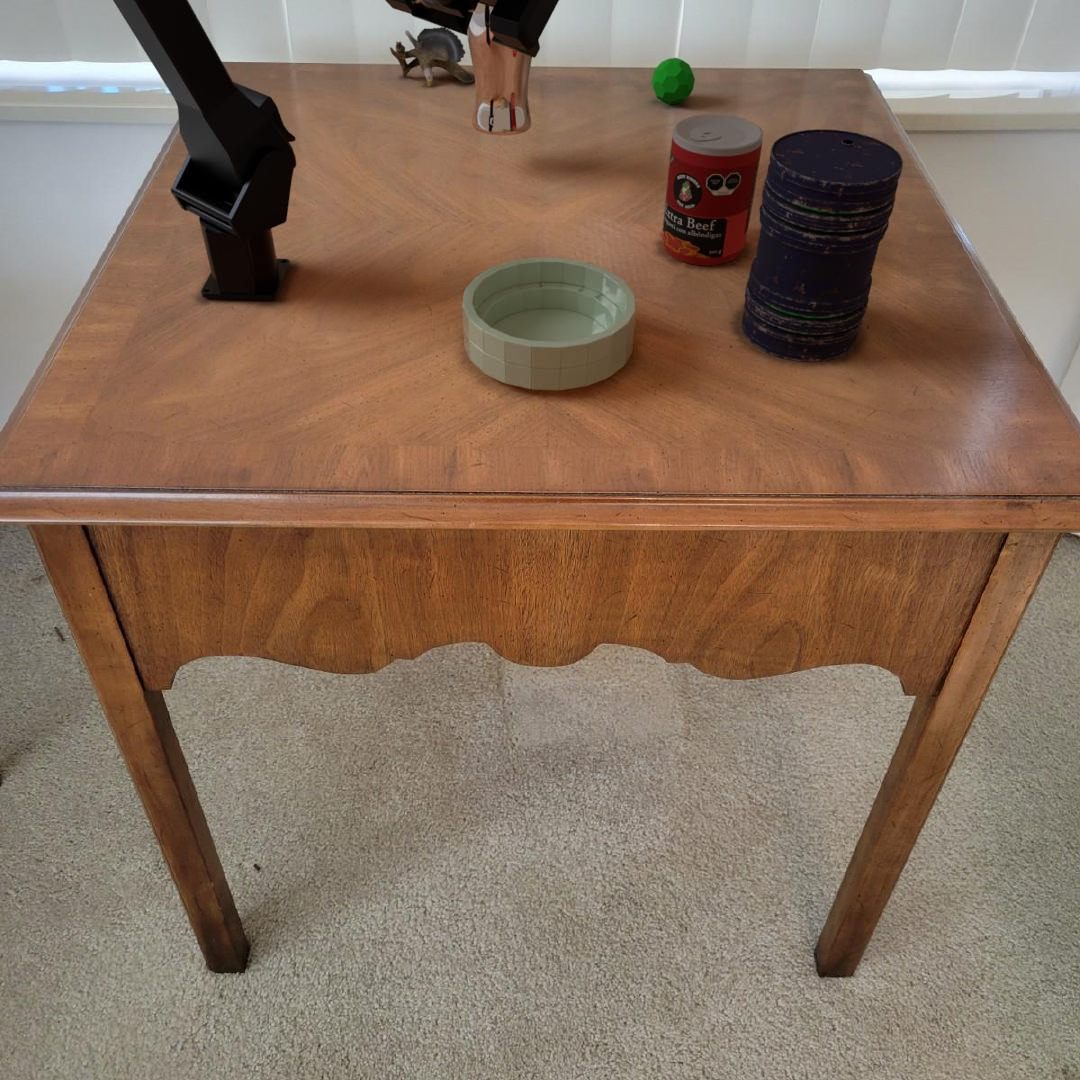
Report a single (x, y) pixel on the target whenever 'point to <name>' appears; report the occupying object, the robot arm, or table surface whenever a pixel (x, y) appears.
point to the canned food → (710, 188)
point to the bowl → (548, 323)
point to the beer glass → (497, 79)
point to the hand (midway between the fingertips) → (510, 44)
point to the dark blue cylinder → (818, 242)
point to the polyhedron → (673, 81)
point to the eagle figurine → (433, 53)
